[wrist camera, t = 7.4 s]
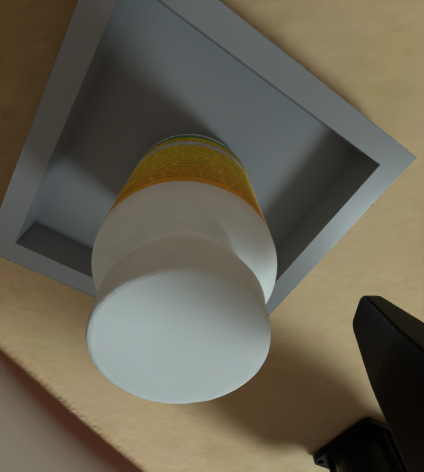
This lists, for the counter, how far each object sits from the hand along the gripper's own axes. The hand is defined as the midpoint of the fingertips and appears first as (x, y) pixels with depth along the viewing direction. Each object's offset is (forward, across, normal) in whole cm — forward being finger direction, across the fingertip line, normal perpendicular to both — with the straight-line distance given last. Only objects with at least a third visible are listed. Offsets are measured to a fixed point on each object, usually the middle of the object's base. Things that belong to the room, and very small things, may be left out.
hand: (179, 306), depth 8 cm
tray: (+9, 0, 0) cm, 9 cm away
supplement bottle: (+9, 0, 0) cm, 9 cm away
